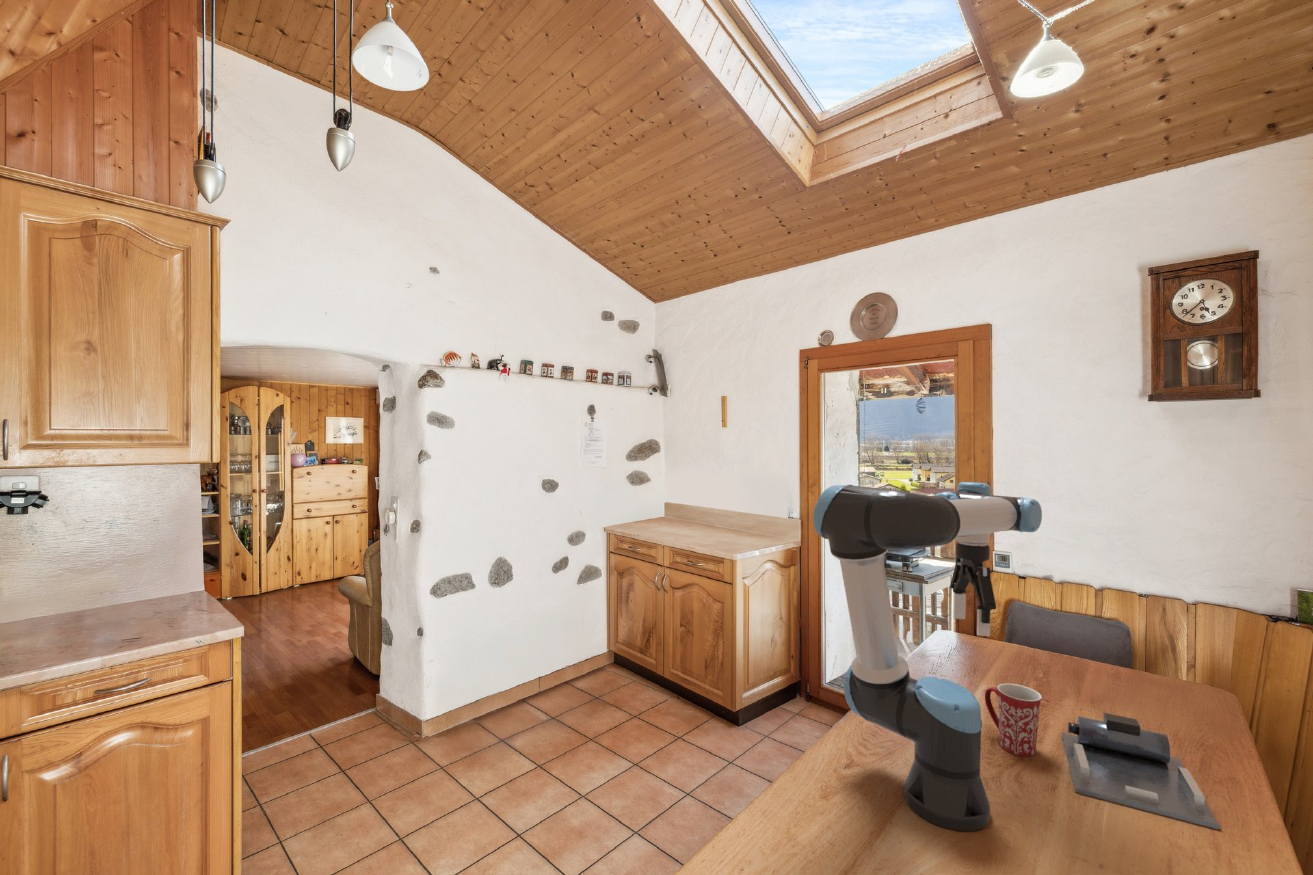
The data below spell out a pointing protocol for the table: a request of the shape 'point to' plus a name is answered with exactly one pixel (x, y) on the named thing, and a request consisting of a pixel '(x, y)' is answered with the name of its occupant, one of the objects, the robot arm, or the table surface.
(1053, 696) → the table surface
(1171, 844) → the table surface
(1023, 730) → the mug
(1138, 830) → the table surface
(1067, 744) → the plate
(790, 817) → the table surface
